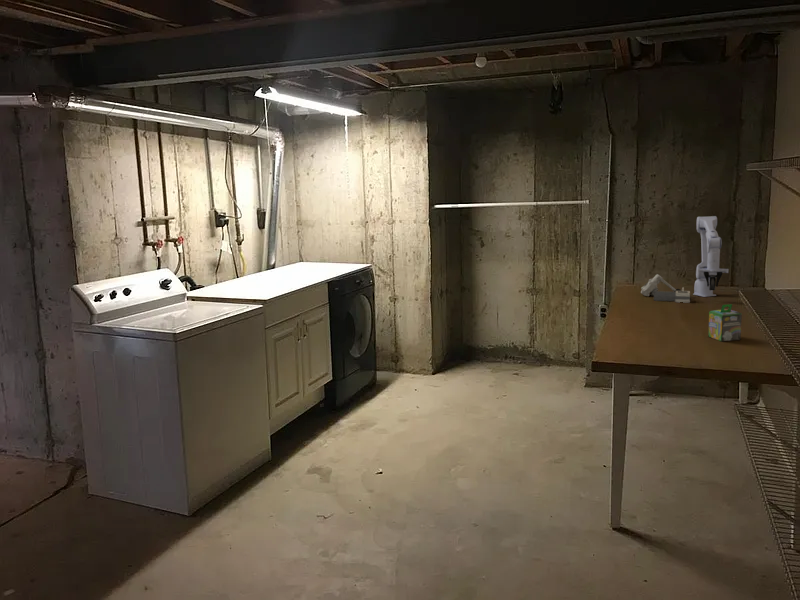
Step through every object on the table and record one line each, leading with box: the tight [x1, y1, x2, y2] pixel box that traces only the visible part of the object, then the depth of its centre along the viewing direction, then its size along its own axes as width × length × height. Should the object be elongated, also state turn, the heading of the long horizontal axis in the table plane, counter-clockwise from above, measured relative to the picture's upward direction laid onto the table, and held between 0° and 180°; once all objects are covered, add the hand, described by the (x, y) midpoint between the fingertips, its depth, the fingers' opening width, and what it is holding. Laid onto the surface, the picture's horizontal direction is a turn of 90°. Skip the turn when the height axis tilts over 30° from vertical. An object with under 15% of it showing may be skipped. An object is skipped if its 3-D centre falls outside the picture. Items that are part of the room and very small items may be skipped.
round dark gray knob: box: [709, 275, 717, 291], centre depth 338 cm, size 4×4×8 cm
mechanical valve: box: [640, 273, 682, 297], centre depth 363 cm, size 10×18×15 cm
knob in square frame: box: [653, 286, 691, 304], centre depth 352 cm, size 18×18×5 cm
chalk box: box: [708, 303, 743, 342], centre depth 267 cm, size 9×9×15 cm
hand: (712, 286), depth 338 cm, fingers closed on round dark gray knob, 3 cm apart
